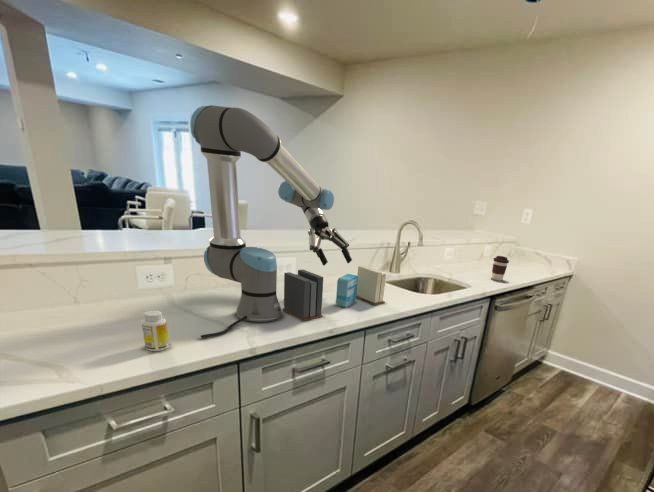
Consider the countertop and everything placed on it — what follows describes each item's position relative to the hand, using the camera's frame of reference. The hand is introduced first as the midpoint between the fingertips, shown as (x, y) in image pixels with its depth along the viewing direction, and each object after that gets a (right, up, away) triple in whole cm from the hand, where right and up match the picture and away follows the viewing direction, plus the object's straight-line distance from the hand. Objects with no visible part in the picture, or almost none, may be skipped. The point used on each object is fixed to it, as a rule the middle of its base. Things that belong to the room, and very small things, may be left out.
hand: (338, 262), depth 161 cm
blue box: (+3, -17, +3) cm, 18 cm away
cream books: (+12, -14, +12) cm, 22 cm away
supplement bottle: (-41, -36, -55) cm, 77 cm away
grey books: (-11, -23, -15) cm, 30 cm away
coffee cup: (+91, +9, +93) cm, 130 cm away
